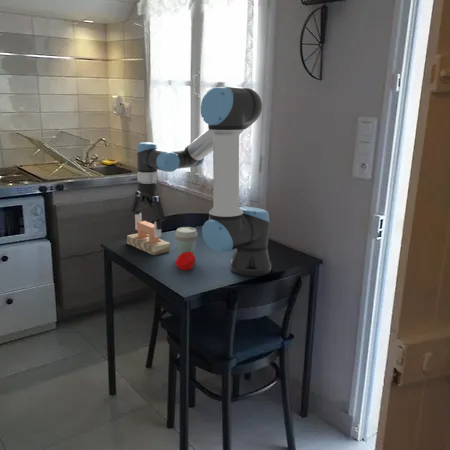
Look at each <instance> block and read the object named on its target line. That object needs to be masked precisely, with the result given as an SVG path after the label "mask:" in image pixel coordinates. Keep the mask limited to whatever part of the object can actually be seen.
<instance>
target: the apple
mask: <svg viewBox="0 0 450 450" xmlns="http://www.w3.org/2000/svg"><path fill="white" fill-rule="evenodd" d="M195 263H196V256H195V254H194V255H193V252H192V253H191V252H185V253H182V254H181V255H179V256H178V255H177V258H176V260H175V265H176V267H177V268H178V269H179V270H181V271H187V270H188V271H189V270H191V269H193V266H194V264H195Z"/></svg>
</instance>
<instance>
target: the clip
mask: <svg viewBox="0 0 450 450" xmlns="http://www.w3.org/2000/svg"><path fill="white" fill-rule="evenodd" d="M137 225H138V230H137V233H138V239H141V238H146V237H147V234H149V243H150V244H153V243H157V242H159V239H160V237H155V229H154V223H152V222H149V221H147V220H142V221H141V222H137Z"/></svg>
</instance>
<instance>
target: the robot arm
mask: <svg viewBox="0 0 450 450" xmlns="http://www.w3.org/2000/svg"><path fill="white" fill-rule="evenodd" d="M262 102H263V101H262V98H261V96H260V94H259V93H258V92H257V91H255V90H254V89H252V88H250V87H246V86H245V87H238V86H237V87H236V86H216V87H212V88H210V89H208V91H206V93H205V94H204V95H203V97H202V99H201V102H200V103H201V104H200V116H201V118H203V119H202V120H203V121H204V122H205V123H206V124H207V129H206V130H205V131H204V132H202V133H201V134H200V135H199V136H198V137H197V138H195V139H194V140H192V142H190V143H189V144H188V145H187V146H186V147H184V148H177V149H166V150H165V149H164V150H163V149H158V146H157V143H155V142H150V141H148V142H146V141H144V142H143V141H142V142H139V143H137V150H136V151H137V152H136V159H137V161H136V162H137V164H136V165H137V190H136V191H135V193H134V199H133V203H132V205H131V206H132V207H131V209H130V210H131V212H133V214H134V221H135V222H134V223H135V224H134V225H135V229H134V230H136V231H138V225H137V222H141V221H143V218H142V216H143V215H142V210H143V208H144V207H145V205H146V206H147V207H148V208H149V209H150V211H151V213H152V215H153V217H154V223H153V224H154V229H155V237H159V238H160V237H162V228H163V227H162V226H163V225H162V224H163V223H162V222H163V221H165V220H166V216H165V213H164V210H163V207H162V202H161V197H160V195H158V196H157V195H156V194H155V193H156V192H157V191H158V182H157V177H158V176H157V175H158V174H157V172H158V171H162V172H164V173H165V172H166V173H172V172H173V173H174V172H175V171H176V170H179V169H187V168H196V167H200V166H202V165H203V162H204V160H205V157H207V156H208V155H209V154H210V153H213V154H212V158H213V159H212V160H213V161H212V163H213V164H212V165H213V167H212V168H213V169H212V171H213V172H212V173H213V174H212V175H213V176H212V177H213V178H212V179H213V185H212V186H213V188H212V192H213V194H212V195H213V207H212V208H211V209H210V210H209V211H208V220H206V221H205V222H204V224H203V225H202V228H201V233H202V237H203V240H204V243H205V244H206V245H207V247H208V248H209V250H211V251H213V252H215V253H219V254H220V253H221V254H222V253H225V252H230V251H232V250H234V252H233V255H232V257H231V260H230V265H229V266H230V267H229V269H230V271H232V272H233V273H234V274H237V275H241V276H246V277H259V276H260V277H261V276H264V275H268V274H269V273H271V271H272V262H271V261H270V256H269V255H270V254H269V251H268V247H269V246H268V244H269V230H270V229H269V228H270V213H269V212H268V211H267V210H266V209H262V208H259V207H251V206H240V135H241V134H242V133H243V132H244V130H247V128H249V127H250V126H252V125H253V124H254V123H255V122H256V121H257V120H258V119H259V118H260V116H261V114H262V111H263V110H262V109H263V103H262Z"/></svg>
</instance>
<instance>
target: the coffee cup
mask: <svg viewBox="0 0 450 450" xmlns="http://www.w3.org/2000/svg"><path fill="white" fill-rule="evenodd" d="M174 234H175V235H174V236H175V240H176V249H177V257H178V256H179V255H181V254H182V253H185V252H191V253H192V252H193V255H194V256H195V250H196V243H197V237H198V232H197V229H196V228H194V227H191V226H182V227H178V228H177V229H176V231H175V233H174Z"/></svg>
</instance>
